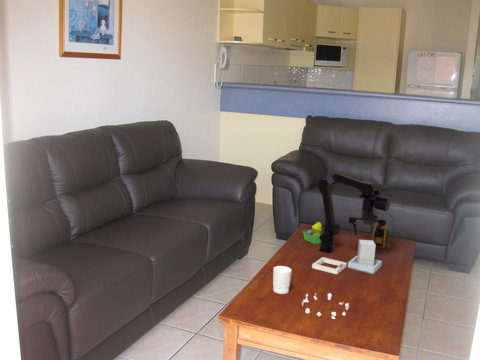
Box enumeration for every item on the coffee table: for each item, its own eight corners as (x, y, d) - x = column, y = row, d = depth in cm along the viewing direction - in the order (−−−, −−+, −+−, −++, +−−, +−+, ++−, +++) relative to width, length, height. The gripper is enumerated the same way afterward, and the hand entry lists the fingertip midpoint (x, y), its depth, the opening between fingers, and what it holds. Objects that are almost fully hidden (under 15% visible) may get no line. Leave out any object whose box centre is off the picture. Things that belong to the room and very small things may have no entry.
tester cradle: (311, 268, 259) (312, 263, 258) (322, 260, 270) (322, 255, 269) (337, 274, 253) (337, 269, 252) (346, 266, 263) (347, 261, 263)
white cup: (291, 289, 232) (293, 267, 230) (287, 296, 225) (289, 273, 223) (274, 286, 235) (276, 264, 233) (269, 292, 227) (271, 270, 225)
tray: (347, 267, 262) (348, 262, 261) (356, 260, 273) (357, 255, 272) (373, 274, 256) (374, 268, 255) (381, 266, 267) (382, 260, 266)
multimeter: (393, 244, 303) (398, 211, 299) (391, 249, 294) (395, 215, 290) (368, 240, 309) (371, 207, 305) (364, 244, 300) (368, 210, 296)
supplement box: (371, 264, 268) (373, 240, 265) (373, 269, 260) (376, 244, 258) (356, 262, 268) (358, 239, 266) (358, 268, 261) (360, 243, 258)
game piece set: (315, 294, 229) (316, 286, 228) (357, 309, 217) (358, 300, 216) (290, 308, 214) (291, 299, 213) (334, 325, 202) (335, 315, 201)
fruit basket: (301, 239, 303) (302, 220, 301) (313, 237, 308) (315, 219, 305) (313, 245, 294) (315, 225, 291) (325, 243, 298) (327, 224, 296)
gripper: (351, 209, 261) (347, 239, 264) (389, 212, 259) (385, 243, 263) (348, 204, 272) (345, 233, 275) (385, 207, 270) (382, 236, 273)
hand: (364, 236), depth 271 cm, fingers open, 9 cm apart
